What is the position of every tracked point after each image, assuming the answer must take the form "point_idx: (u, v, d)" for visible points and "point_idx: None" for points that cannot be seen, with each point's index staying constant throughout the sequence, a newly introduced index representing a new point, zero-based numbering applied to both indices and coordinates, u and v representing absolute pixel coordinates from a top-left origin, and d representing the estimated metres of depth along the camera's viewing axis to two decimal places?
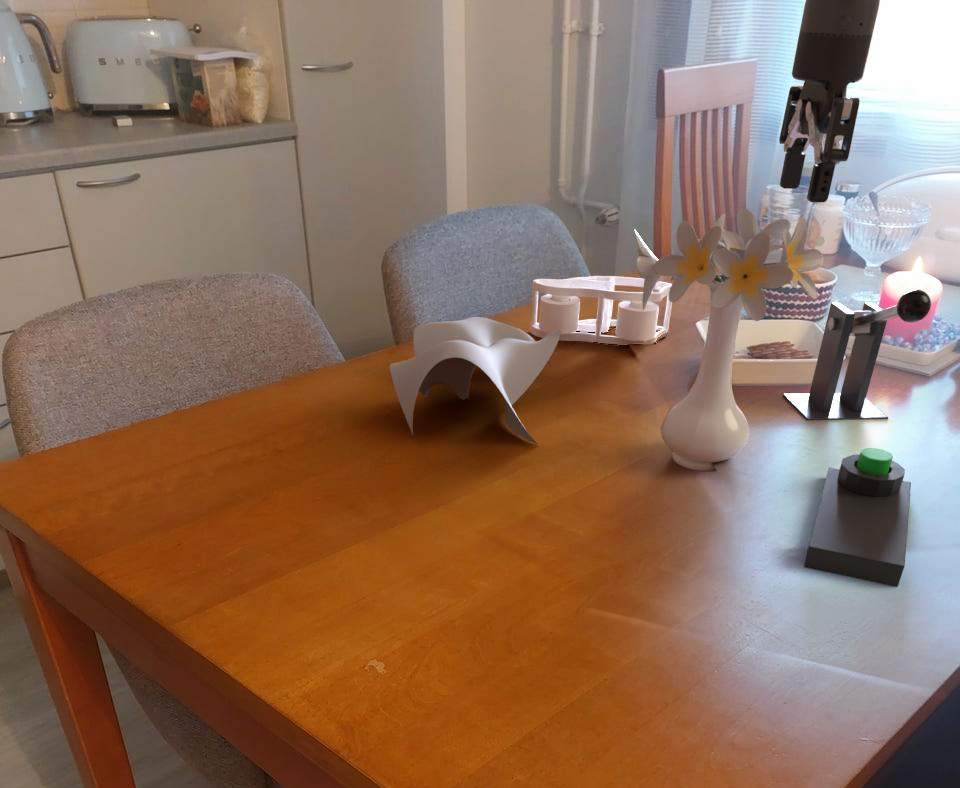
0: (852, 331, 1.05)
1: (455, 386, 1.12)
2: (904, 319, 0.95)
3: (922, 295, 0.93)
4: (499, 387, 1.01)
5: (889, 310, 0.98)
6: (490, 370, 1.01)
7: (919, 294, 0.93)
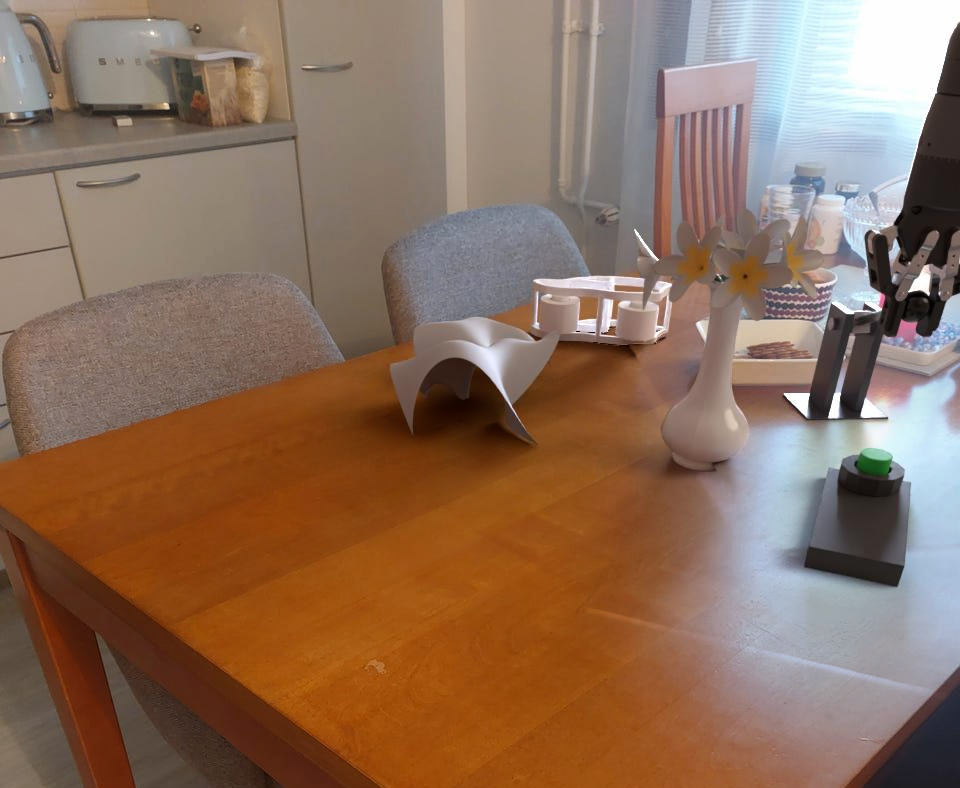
0: (852, 331, 1.05)
1: (455, 386, 1.12)
2: (904, 319, 0.95)
3: (922, 295, 0.93)
4: (499, 387, 1.01)
5: None
6: (490, 370, 1.01)
7: (919, 294, 0.93)
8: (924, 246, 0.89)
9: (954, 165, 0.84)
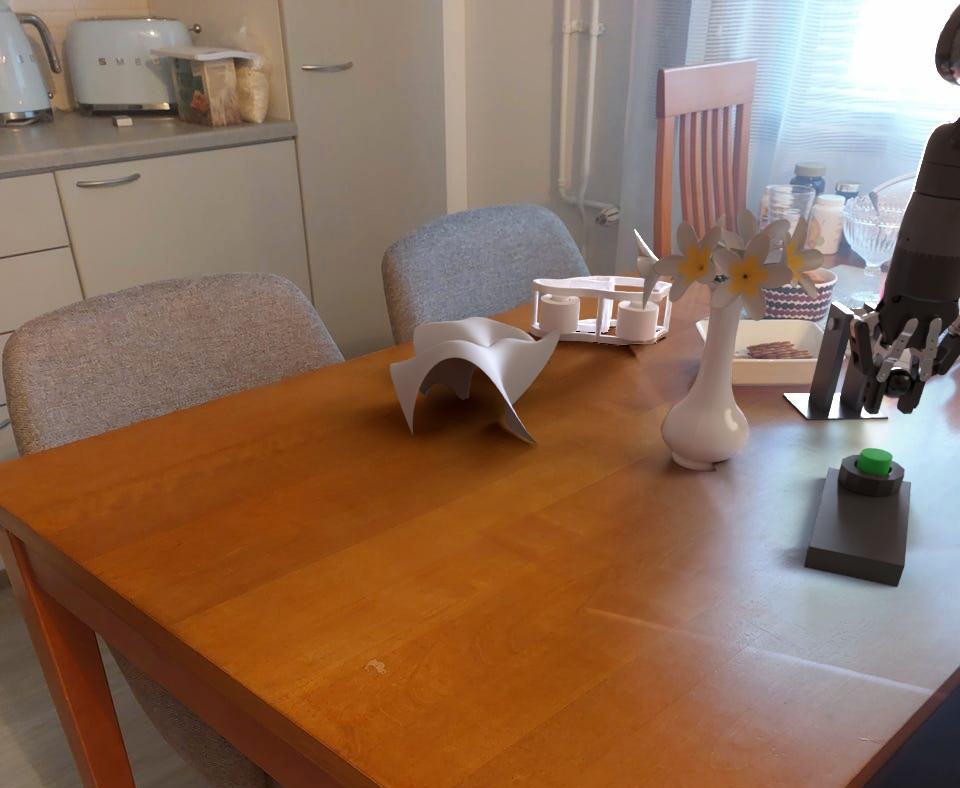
0: None
1: (455, 386, 1.12)
2: None
3: (904, 383, 0.97)
4: (499, 387, 1.01)
5: None
6: (490, 370, 1.01)
7: (901, 382, 0.97)
8: (904, 332, 0.94)
9: (931, 260, 0.88)
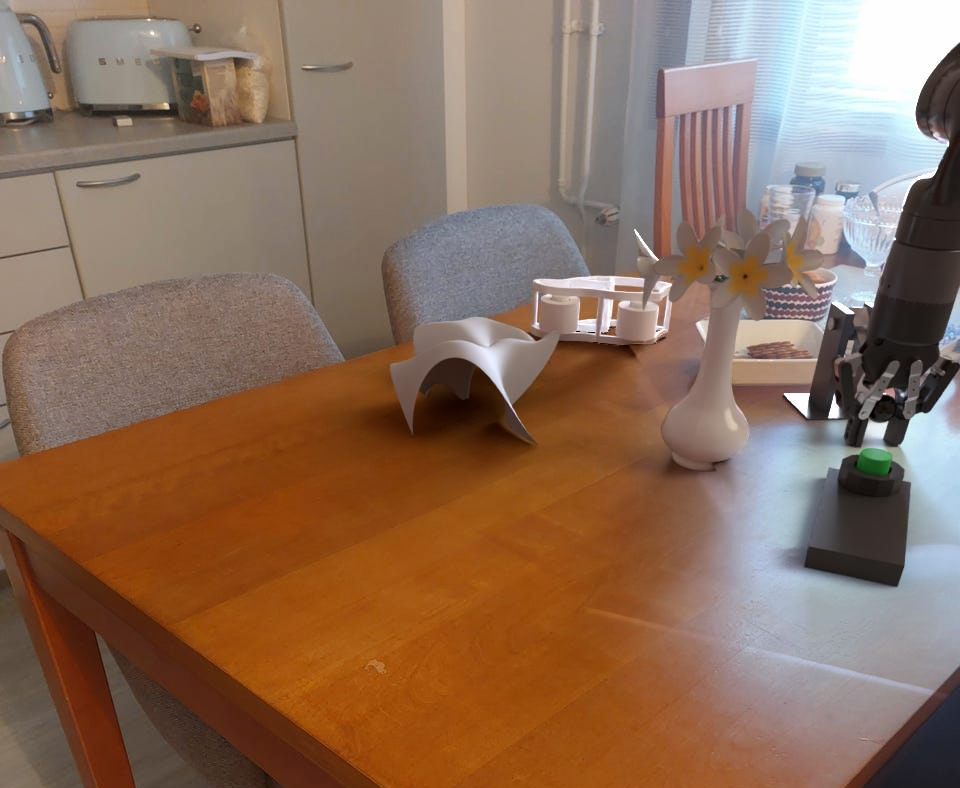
0: None
1: (455, 386, 1.12)
2: None
3: (888, 413, 1.00)
4: (499, 387, 1.01)
5: None
6: (490, 370, 1.01)
7: (886, 412, 1.00)
8: (886, 373, 0.97)
9: (911, 306, 0.92)
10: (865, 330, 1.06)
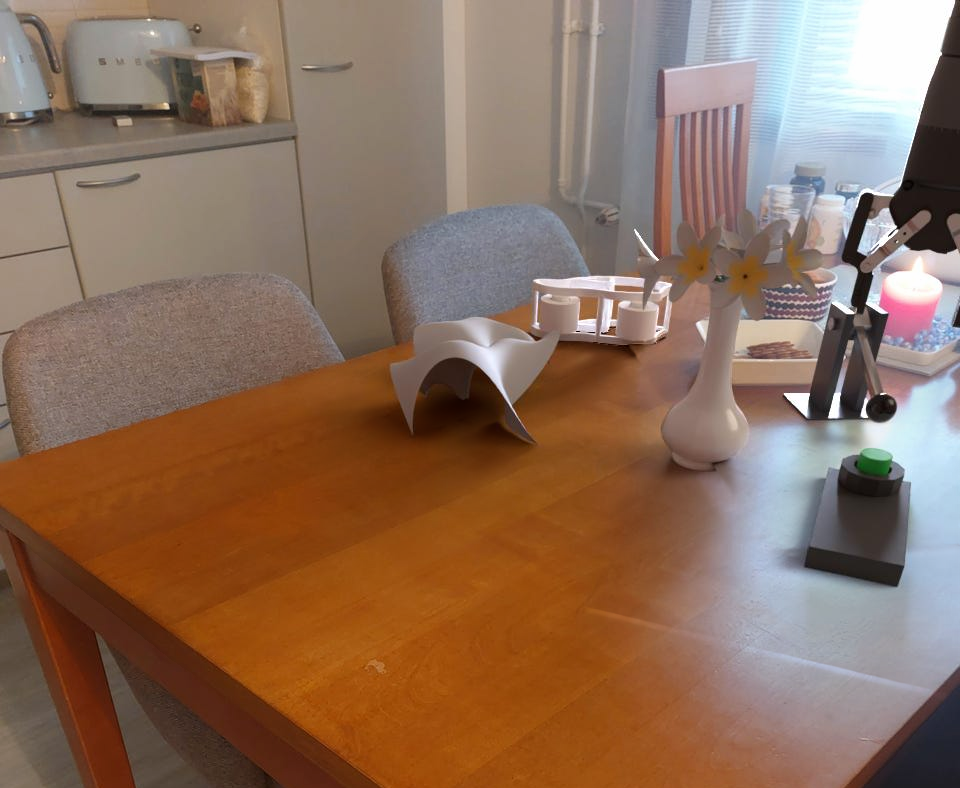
0: None
1: (455, 386, 1.12)
2: None
3: (888, 413, 1.00)
4: (499, 387, 1.01)
5: (869, 380, 1.03)
6: (490, 370, 1.01)
7: (886, 412, 1.00)
8: (910, 223, 0.81)
9: (939, 134, 0.75)
10: (865, 330, 1.06)
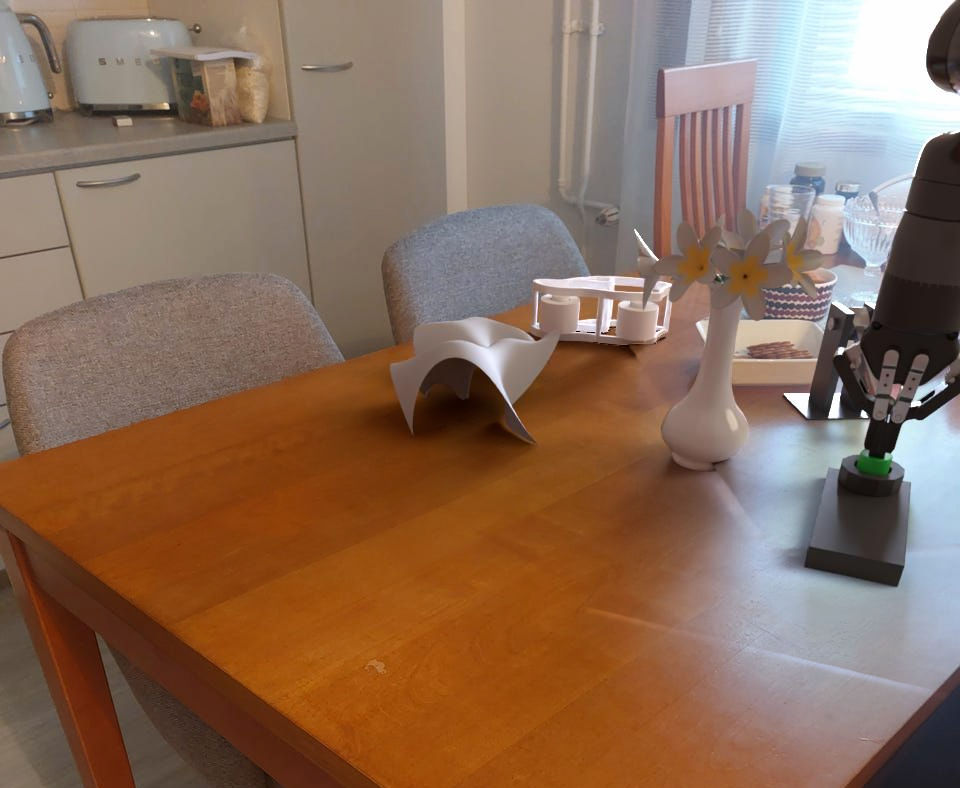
0: None
1: (455, 386, 1.12)
2: None
3: (888, 413, 1.00)
4: (499, 387, 1.01)
5: (869, 380, 1.03)
6: (490, 370, 1.01)
7: None
8: (885, 366, 0.84)
9: (903, 285, 0.79)
10: None
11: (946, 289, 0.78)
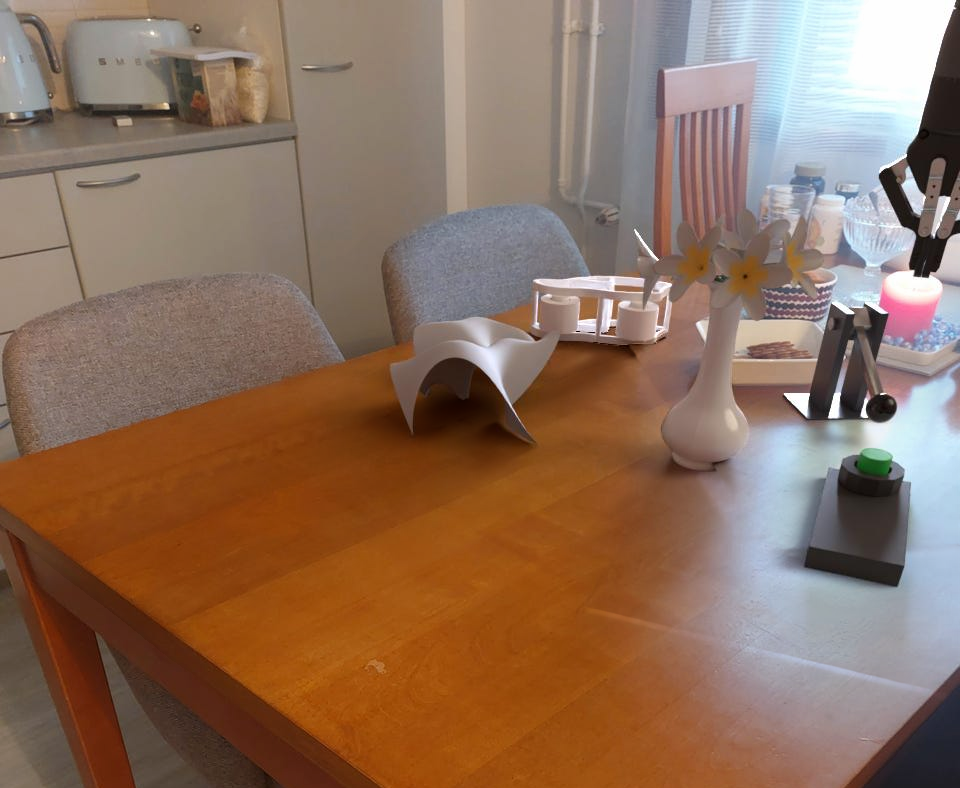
0: None
1: (455, 386, 1.12)
2: None
3: (888, 413, 1.00)
4: (499, 387, 1.01)
5: (869, 380, 1.03)
6: (490, 370, 1.01)
7: (886, 412, 1.00)
8: (931, 176, 0.85)
9: (952, 84, 0.80)
10: (865, 330, 1.06)
11: None
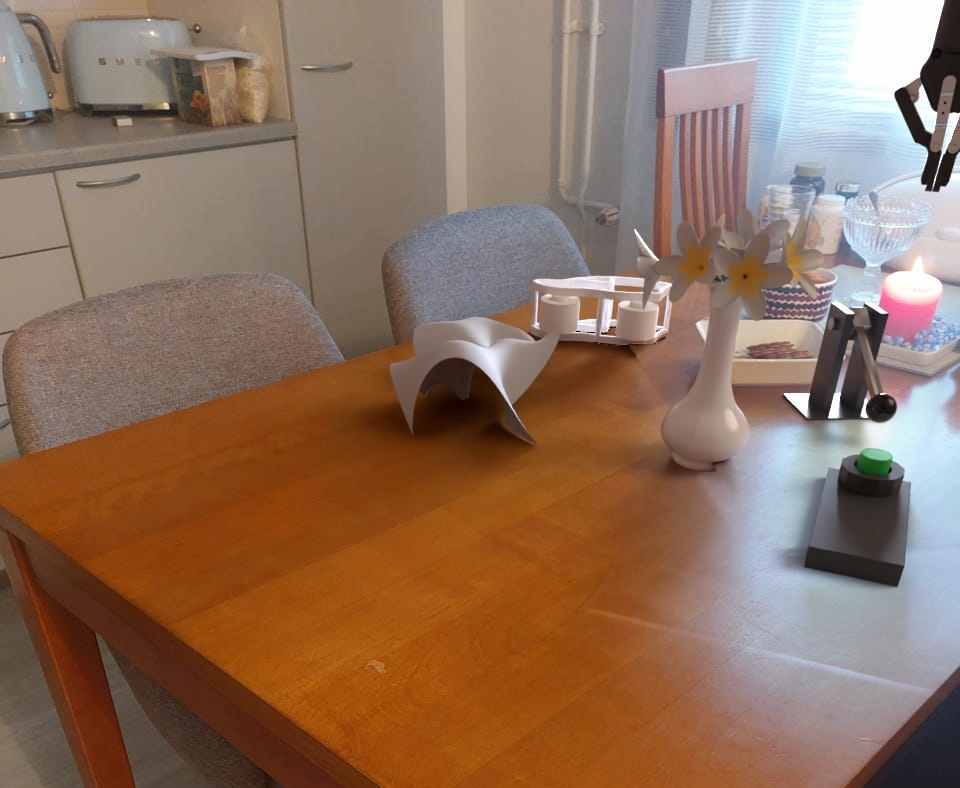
0: None
1: (455, 386, 1.12)
2: None
3: (888, 413, 1.00)
4: (499, 387, 1.01)
5: (869, 380, 1.03)
6: (490, 370, 1.01)
7: (886, 412, 1.00)
8: (943, 93, 0.93)
9: None
10: (865, 330, 1.06)
11: None
